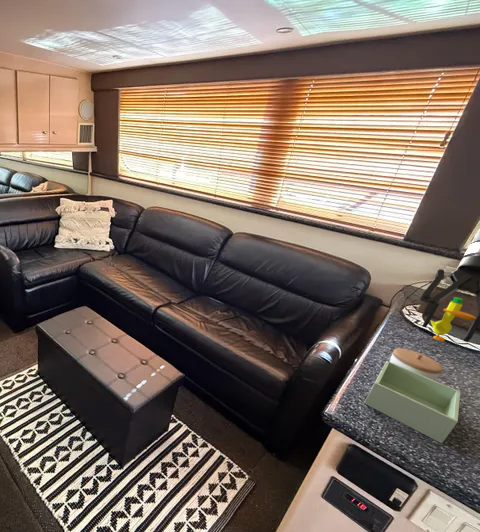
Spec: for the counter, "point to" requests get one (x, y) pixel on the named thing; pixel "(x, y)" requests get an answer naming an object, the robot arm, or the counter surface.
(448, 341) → the counter surface
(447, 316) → the toy figure
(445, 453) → the counter surface
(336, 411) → the counter surface
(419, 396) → the bin
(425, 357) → the trinket box
